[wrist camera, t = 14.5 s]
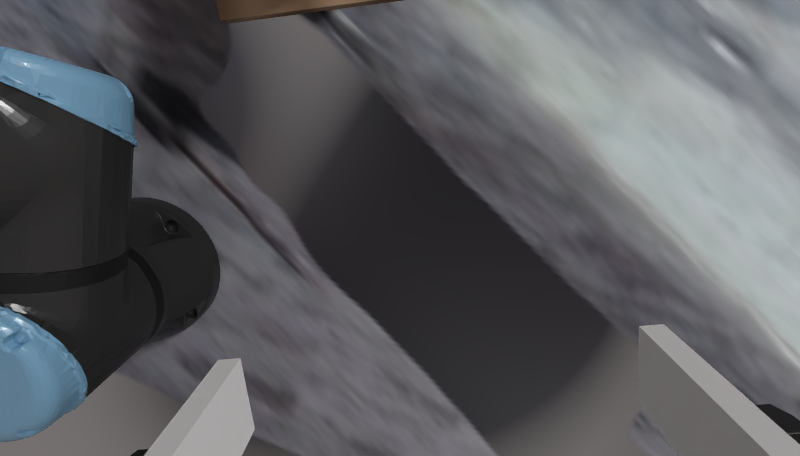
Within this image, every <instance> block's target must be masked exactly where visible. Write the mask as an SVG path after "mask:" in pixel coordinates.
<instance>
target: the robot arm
mask: <svg viewBox="0 0 800 456" xmlns="http://www.w3.org/2000/svg"><path fill="white" fill-rule="evenodd" d="M134 147H137V140H136V138H135V137H134V101H133V97H132V94H131V93H130V91H129V89H128V88H127V87H126V86H125V85H124V84H123V83H122V82H121V81H119V80H118V79H116V78H114V77H111V76H108V75H105V74H102V73H99V72H96V71H92V70H89V69H85V68H82V67H78V66H75V65H71V64H67V63H64V62H60V61H57V60H53V59H49V58H45V57H42V56H38V55H34V54H31V53H27V52H23V51H19V50H15V49H11V48H7V47H2V46H0V442H9V441H15V440H20V439H23V438H27V437H30V436H32V435H35V434H37V433H39V432H41V431H43V430H44V429H46V428H47V427H48V426H50V425H51V424H52V423H54V422H55V421H56V420H58V419H59V418H60V417H61V416H63V415H64V414H66V413H68V412H70V411H72V410H74V409H76V408H77V407H78V406H79V405H80V404H81V403H82V402H83V401H84V399H85V398H86V397H87V396H88V395H89V394H90V393H91V392H93V391H94V390H95V389H96V388H97V387H98V386H99V385H100V384H101V383H102V382H103V381H104V380H106V379H107V378H108V377H109V376H110V375H111V374H112V373H113V372H114V371H116V370H117V369H118V368H119V367H120V366H121V365H122V364H123V363H124V362H125V361H127V360H128V359H129V358H130V357H131V356H132V355H133V354H134V353H135V352H136V351H137V350H139V349H140V348H141V347H142V346H143V345H144V344H145V343H149V342H152V341H155V340H159V339H162V338H165V337H169V336H172V335H175V334H177V333H179V332H181V331H183V330H185V329H186V328H188V327H189V326H191V325H192V324H193V323H194V322H195V321H196V320H198V319H199V318H200V317H201V316H202V315H203V314H204V313H205V312H206V310H207V309H208V308H209V307H210V305H211V304H212V302H213V300H214V298H215V296H216V294H217V290H218V287H219V281H220V265H219V259H218V255H217V252H216V249H215V247H214V244H213V242H212V240H211V239H210V237H209V235H208V234H207V232H206V231H205V230H204V228H203V227H202V226H201V225H200V224H199V223H198V222H197V221H196V220H195V219H194V218H193V217H192V216H191V215H189V214H188V213H187V212H185V211H184V210H182V209H180V208H179V207H177V206H175V205H173V204H170V203H168V202H165V201H162V200H158V199H152V198H131V196H132V173H133V151H134ZM638 403H639V404H640V405H641V406H642V408H643V409H644V411H645V412H646V413H647V415H648V416H649V417H650V419H651V420H652V421H653V423H654V424H655V425H656V427H657V428H658V429H659V431H660V432H661V433H662V435H663V436H664V437H665V439H666V440H667V441H668V443H669V444H670V445H671V447H672V448H673V449H674V451H675V452H676V453H677V455H678V456H800V421H799V420H798V419H797V418H795V417H794V416H793V415H791V414H789V413H787V412H785V411H783V410H781V409H779V408H777V407H775V406H773V405H771V404H763V405H754V404H753V403H752V402H751V401H750V400H749V399H748V398H746V397H745V396H744V395H743V394H742V393H741V392H740V391H738V390H737V389H736V388H735V387H734V386H733V385H732V384H731V383H729V382H728V381H727V380H726V379H725V378H724V377H723V376H722V375H720V374H719V373H718V372H717V371H716V370H715V369H714V368H712V367H711V366H710V365H709V364H708V363H707V362H706V361H705V360H703V359H702V358H701V357H700V356H699V355H698V354H697V353H695V352H694V351H693V350H692V349H691V348H690V347H689V346H688V345H686V344H685V343H684V342H683V341H682V340H681V339H680V338H678V337H677V336H676V335H675V334H674V333H673V332H672V331H671V330H669V329H668V328H667V327H666V326H665V325H664V324H661V325H649V326H639V367H638ZM254 430H255V428H254V423H253V418H252V413H251V408H250V403H249V399H248V394H247V389H246V384H245V379H244V374H243V369H242V364H241V359H240V358H238V359H226V360H218V361H217V362H216V363H215V365H214V366H213V367H212V369H211V370H210V371H209V372H208V374H207V375H206V376H205V378H204V379H203V380H202V381H201V383H200V384H199V385H198V387H197V388H196V389H195V391H194V392H193V393H192V394H191V396H190V397H189V398H188V400H187V401H186V402H185V403H184V405H183V406H182V407H181V409H180V410H179V411H178V412H177V414H176V415H175V416H174V418H173V419H172V420H171V421H170V423H169V424H168V425H167V427H166V428H165V429H164V430H163V432H162V433H161V434H160V436H159V437H158V438H157V439H156V441H155V442H154V443H153V445H152V446H151V447H150V448H149V449H145V450H137V451H136V452H135V453H133V454H132V455H131V456H242V454H243V452H244V450H245V448H246V446H247V444H248V442H249V440H250V438H251V436H252V434H253V432H254Z"/></svg>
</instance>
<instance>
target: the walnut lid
mask: <svg viewBox="0 0 800 456" xmlns="http://www.w3.org/2000/svg"><path fill="white" fill-rule="evenodd" d="M394 1H402V0H216V5H217V10H218V16H219V21H221V22H223V23H226V24H228V23H235V22H243V21H250V20H257V19H265V18H273V17H280V16H288V15H296V14H303V13H311V12H318V11H326V10H334V9H341V8H349V7H356V6H364V5H371V4H379V3H387V2H394Z"/></svg>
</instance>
